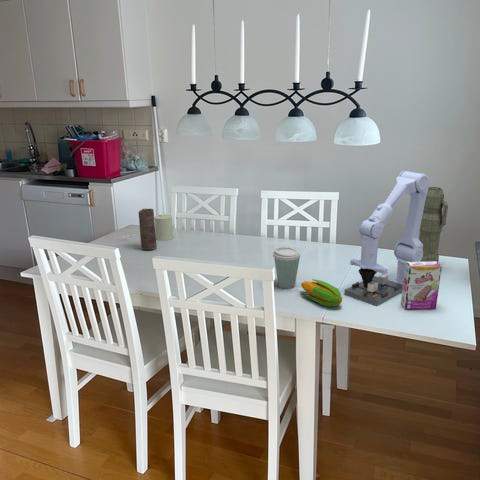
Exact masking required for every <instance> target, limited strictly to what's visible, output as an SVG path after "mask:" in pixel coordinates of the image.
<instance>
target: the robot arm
mask: <svg viewBox="0 0 480 480" xmlns="http://www.w3.org/2000/svg"><path fill="white" fill-rule="evenodd" d="M429 186H430V178H429V177H428V175H427V174H426V173H419V172H413V171H408V170H402V171H401V172H400V173H399V174H398V176H397V177H396V179H395V186H394V188H393V189H392V190H391V192H390V194H389V195H388V197H387V198H386V200H385V201H384V202H383V203H379V204H378V205H377V207H376V208H375V210H373V212H372V214H371V215H370V216H369V217H368V219H366V220H363V221H362V222H361V223H360V225H359V228H358V231H359V233H360V239H361V251H360V259H357V258H356V259H355V258H352V259H350V261H349V263H350V264H349V265H350V266H357V267H360V268H359V269H358V273H359V275H360V277H361V280H362V281H363V285H364V288H368V283H370V282H372V279H373V277H374V276H376V274H377V273H380V274H381V275H383V274H384V275H387V274H388V268H387V267H385V266H383V265H380V264H378V263H377V261H378V251H379V250H378V248H379V238H380V237H381V236H382V235H383V232H384V228H385V224H386V223H387V221H388V220H389V219H390V217H391V216H392V215H393V213H394V212H393V209H394V208H395V206H396V205H397V204H398V203H399V201H400V200H401V199H402V198H403V197H404V196H405V195H406V194H409V196H410V199H409V204H408V210H407V216H406V221H405V226H404V233H403V236H401V237H399V238H398V239H397V241H396V245H395V247H394V249H393V255H394V256H395V258H396V260H397V268H396V278H394V279H393V280H392V281H393V282H396V283H400V284H403V279H404V271H405V262H420V261H421V259H422V257H423V244H422V243H421V241H420V240H419V236H420V225H421V220H422V215H423V210H424V205H425V200H426V195H427V192H428V188H429Z"/></svg>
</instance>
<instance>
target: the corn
mask: <svg viewBox="0 0 480 480" xmlns="http://www.w3.org/2000/svg"><path fill="white" fill-rule="evenodd" d="M311 280H312V281H309V280H306V281H305V280H304V281H302V282H301V283H300V284H301V285H300V286H301V288H302V289H303V290H304V291H305V292H306V293H305V292H303V291H301V294H303V295H304V296H305V297H306V298H308V299H310V300H311V301H313V300H314V301H313V302H316V303H317V304H319V305H322V306H324V307H326V306H327V308H330V307H332V308H333V307H336V306H339V305H340V304H342V302H343V297H342V294H341V291H340V290H339V289H338V288H337V287H335V286H333V285H331V284H330V283H328V282H325V281H323V280H320V279H314V278H312V279H311Z"/></svg>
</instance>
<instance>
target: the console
mask: <svg viewBox="0 0 480 480" xmlns="http://www.w3.org/2000/svg"><path fill="white" fill-rule="evenodd" d="M378 278H379V276H376V275H374V277H373V279H372V281H374V282H377V283H378ZM367 289H368V288H364V285H363V280H362V281H360V282H359V281H357V282H356V283H353V284H352V285H351V286H349V287H347V288H345V289H344V293H343V295H344V296H347V297H350V298H353V299H356V300H357V301H361V302H364V303H367V304H370V305H373V306H375V307H378V306H380V305H382V304H383V303H386V302H388V301H389V300H391V299H392V298H394V297H397V296H398V295H400V294H402V289H403V284H400V283H396V282H393V280H389V279H388V283H386V284H384V285H382V284H379V283H378V288H377V290H376V291H374V292H370V291H367Z"/></svg>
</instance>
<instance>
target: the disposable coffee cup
mask: <svg viewBox="0 0 480 480" xmlns="http://www.w3.org/2000/svg"><path fill="white" fill-rule="evenodd" d="M272 257H273V258H274V267H275V272H276V278H277V285H278V287H280V288H281V289H285V290H287V289H292V288H294V287H295V285H296V281H297V275H298V271H299V264H300V259H301V258H300V257H301V253H300V251H299V250H298V249H296V248H294V247H290V246H277V247H276V248H274V251H273V253H272Z"/></svg>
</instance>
